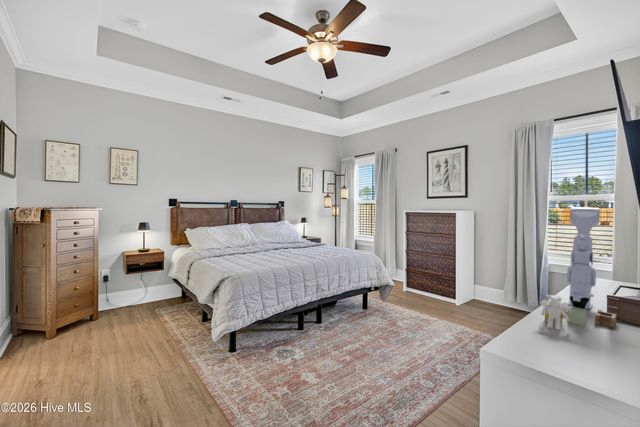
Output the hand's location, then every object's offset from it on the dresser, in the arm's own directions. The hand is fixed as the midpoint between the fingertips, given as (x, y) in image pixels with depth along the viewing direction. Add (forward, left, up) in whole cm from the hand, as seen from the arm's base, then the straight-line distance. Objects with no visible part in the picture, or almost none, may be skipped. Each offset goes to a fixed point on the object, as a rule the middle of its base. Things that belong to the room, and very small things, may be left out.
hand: (578, 315), depth 121 cm
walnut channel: (-3, +2, -1) cm, 4 cm away
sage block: (+4, 0, -1) cm, 4 cm away
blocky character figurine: (+18, -5, -2) cm, 19 cm away
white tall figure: (+11, -6, -2) cm, 13 cm away
